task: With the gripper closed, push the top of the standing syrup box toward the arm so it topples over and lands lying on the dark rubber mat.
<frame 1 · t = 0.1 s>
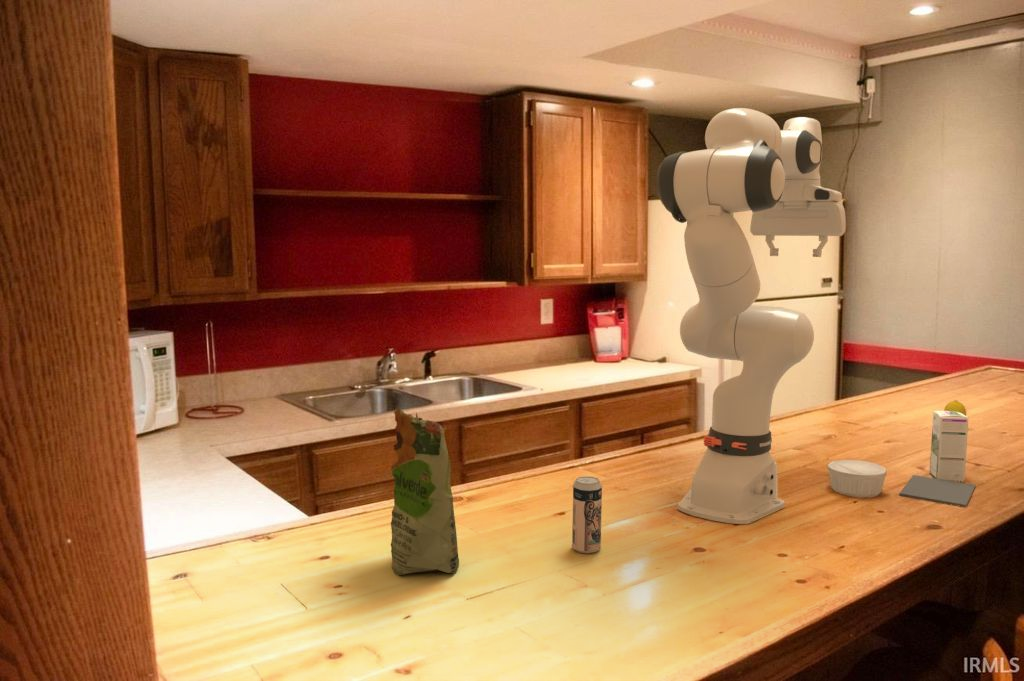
hand: (795, 256, 179), 48 cm above the counter, tool pointing down, fingers open, 8 cm apart
lemon: (953, 429, 223), on the counter
mat: (937, 491, 167), on the counter
beer can: (586, 550, 134), on the counter
syrup box: (946, 478, 176), on the counter
ramekin: (855, 492, 167), on the counter
pouch: (421, 569, 126), on the counter
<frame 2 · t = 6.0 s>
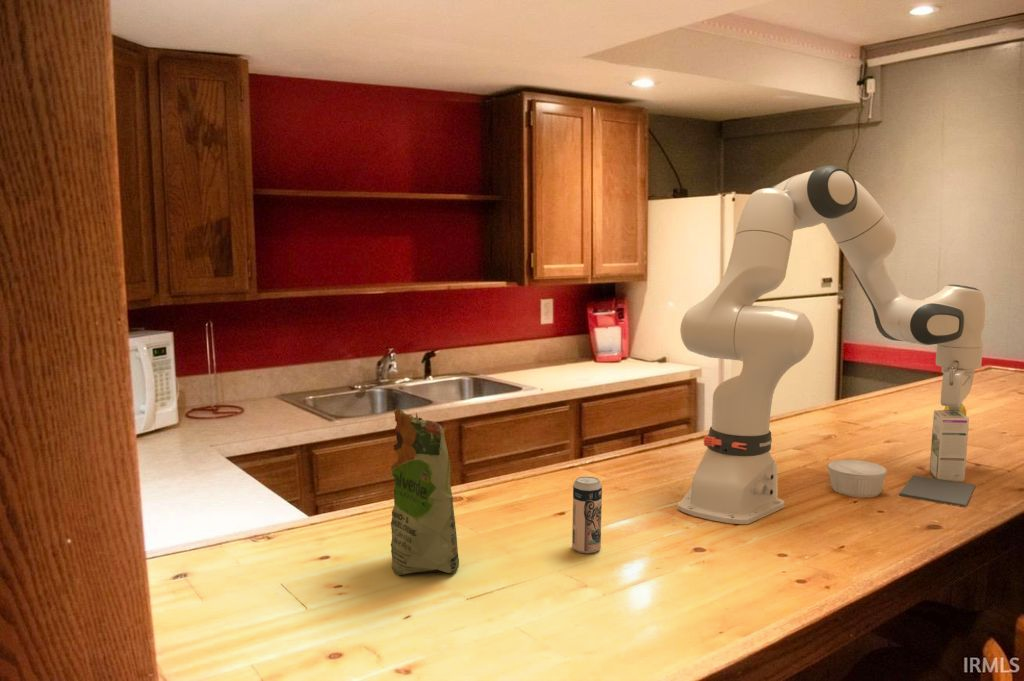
hand: (954, 419, 178), 12 cm above the counter, tool pointing down, fingers closed
syrup box: (946, 477, 176), on the counter, touching gripper
everything else where it was.
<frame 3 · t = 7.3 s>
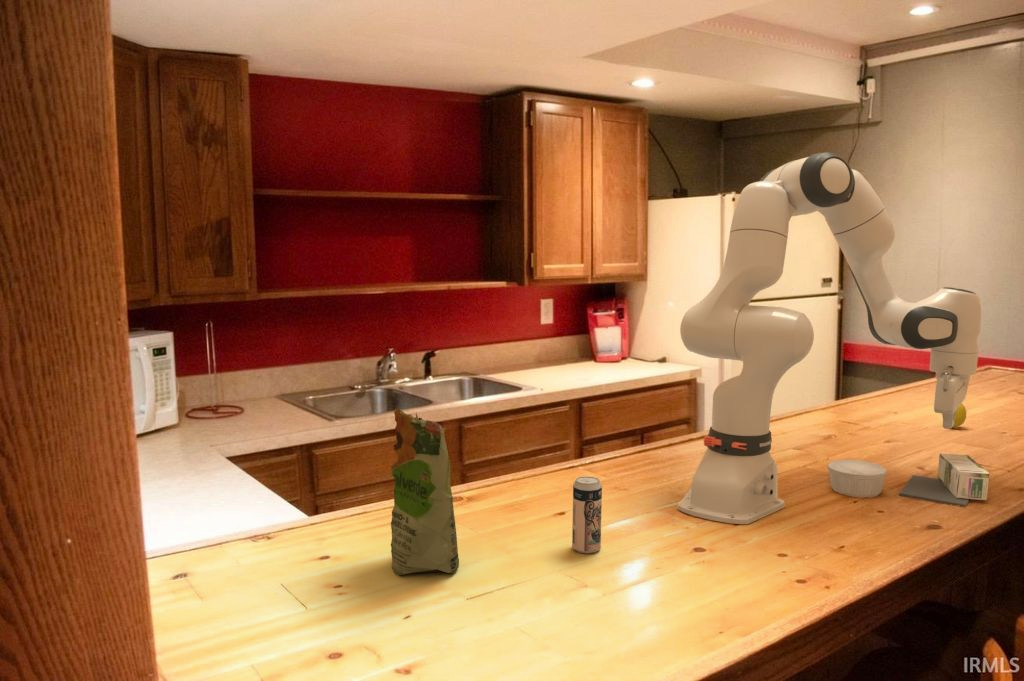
hand: (948, 427, 172), 12 cm above the counter, tool pointing down, fingers closed
syrup box: (951, 466, 173), point 3 cm above the counter, touching mat
everything else where it was.
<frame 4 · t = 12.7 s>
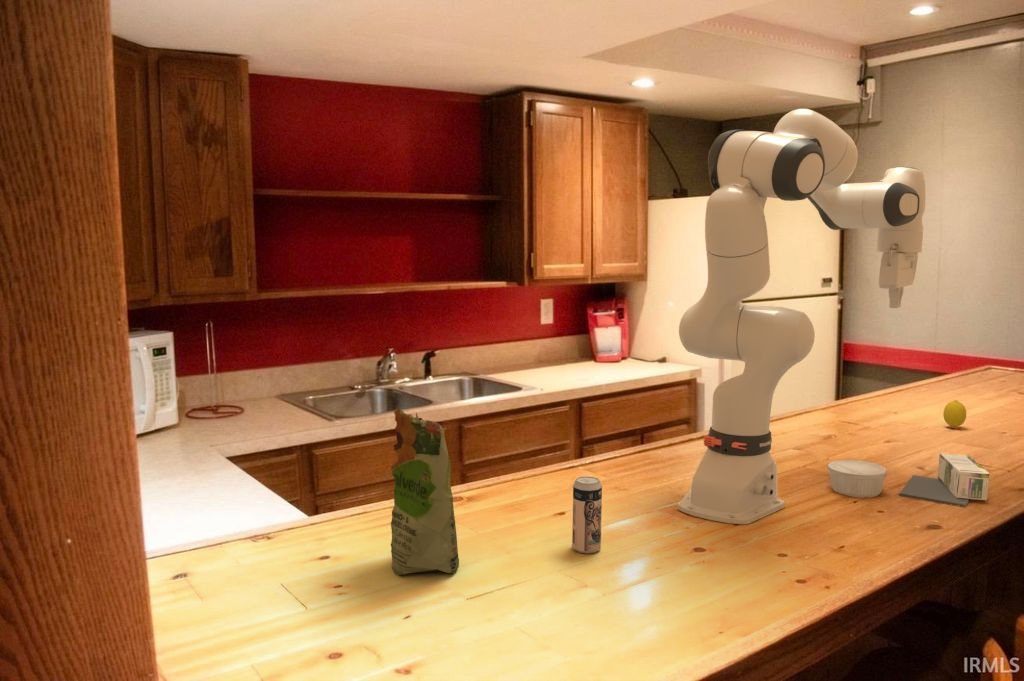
hand: (894, 307, 175), 37 cm above the counter, tool pointing down, fingers closed
nothing on the counter moved.
at the end: syrup box tilted 90°; syrup box inside the target area (6.9 cm from its centre), point 3.3 cm above the counter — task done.
